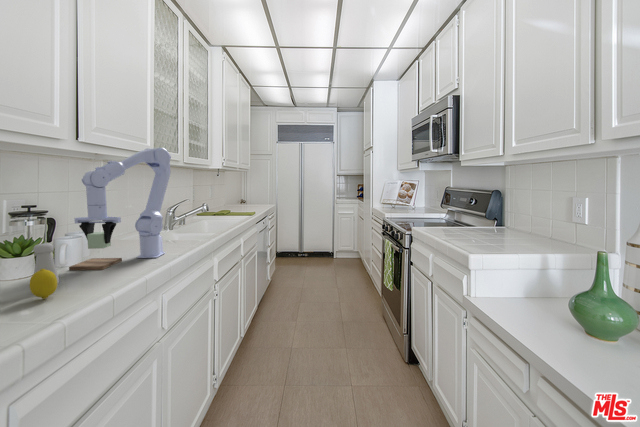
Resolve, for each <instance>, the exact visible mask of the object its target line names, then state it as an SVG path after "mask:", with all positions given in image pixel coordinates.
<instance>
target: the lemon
mask: <svg viewBox="0 0 640 427" xmlns="http://www.w3.org/2000/svg"><path fill="white" fill-rule="evenodd" d="M57 288H58V285H57V278H56V276H55V274H54V273H53V272H51V271H49V270H45V269H41V270H40V271H37V272H36V273H34V272H33V274H32V276H31V277H30V279H29V290H30V292H31V293H32V295H33V296H35V297H36V298H41V299H43V300H46V299H47V298H48V297H50V296H52V295H54V293H55V292H56V290H57Z"/></svg>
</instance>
